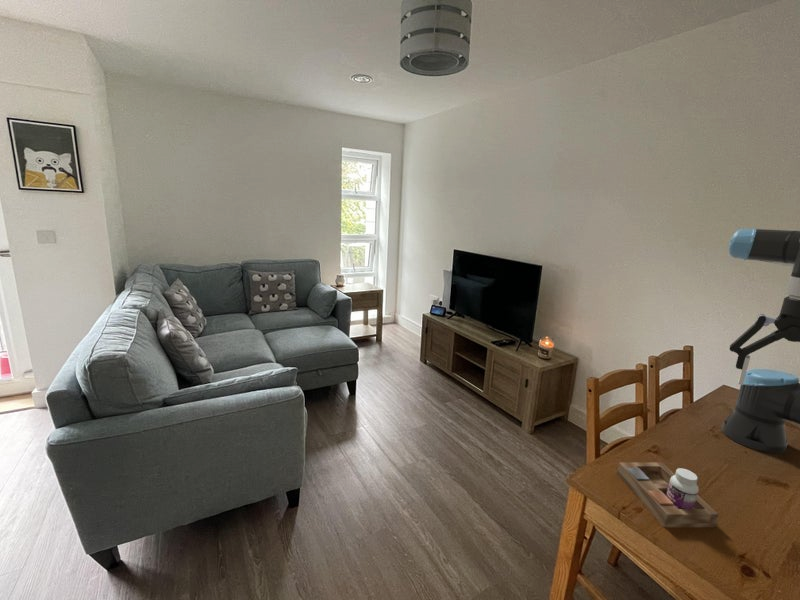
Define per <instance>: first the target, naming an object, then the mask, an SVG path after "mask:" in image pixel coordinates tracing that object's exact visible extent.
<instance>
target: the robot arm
mask: <svg viewBox="0 0 800 600" xmlns="http://www.w3.org/2000/svg"><path fill="white" fill-rule="evenodd" d="M728 251H729V255H730V257H732V258H734V259H740V260H744V261H745V260H746V261H757V262H758V261H759V262H765V263H770V264H776V265H781V266H786V267H788V268H789V269H790V270H791V271H792V272H791V274H790V276H789V281H788V284H787V288H786V290H785V294H786V295H787V296H785V297H784V298H783V301H782V304H781V307H780V308H781V309H780V311H779V315H778V316H777V317H776V318H775V317H770V316H767V315H765V314H764V313H760V314H758V316H757V319H756V320H755V322H754V323H753V324H752V325H751V326H749V328H748V329H747V330H746V331H744V332H743V333H742V334H741V335H740V336H739V337H738V338H737V339H735V340H734V341H733V342H732V343H731V344H730V345H729V351H730V352H734V353H735V354H736V355H738V356H737V359H736V363H735V367H736V368H735V369H738V370H740V374H739V378H738V380H737V381H738V382H737V383H738V385H740V387H739V390H738V391H739V392H738V395H737V398H736V402H735V406H734V409H733V410H732V411H731V413H729V415H728V416H727V417H726V419H725V420H724V421H723V423H722V425H721V431H722V433H723V434H724V435H725V436H726V437H728V438H729V439H731V440H732V441H734V442H736V443H738V444H740V445H742V446H745V447H747V448H750V449H753V450H756V451H758V452H759V451H760V452H763V453H768V454H770V453H771V454H783V453H784V452H786V451H787V447H788V441H787V436H786V435H787V433H786V427H785V426H786V422H787V421H789V422H790V423H794V424H797V425H799V426H800V379H799V377H798V376H797V375H795V374H793V373H789V372H786V371H781V370H776V369H768V368H753V369H748V367H749V363H750V360H751V355H750V354H752V353H755V352H756V351H758V350H761V349H762V348H765V347H767V346H768V345H770V344H773V343H775V342H778V341H780V340H782V339H785V340H787V341H788V342H793V343H796V342H797V343H800V230H788V229H787V230H786V229H785V230H784V229H768V228H767V229H764V228H740V229H738V230H736V231H735V233H734V232H733V235H732V236H731V239H730V242H729V245H728ZM770 324H774V326H775V327H776V329H777V330H775V331H774V330H773V332H771V333H770V334H768V335H766V336H764V337H761V338H760V339H758V340H755V341H754V342H752V343H750V344H748V345H746V346H744V347H742V346H743V345H745V344H746V342H748V341H749V340H751V338H752V337H753V336H755V335H756V334H757V333H758V332H759V331H760V330H761V329H762V328H763V327H767V326H770Z"/></svg>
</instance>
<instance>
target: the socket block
mask: <svg viewBox="0 0 800 600" xmlns="http://www.w3.org/2000/svg"><path fill="white" fill-rule="evenodd" d="M616 474H617V475H618V477H620V479H621V480H622V481H623V482H624V483H625V484H626V485H627V487H628V488H629V489H630V490H631V491H632V493H634V495H635V496H636V497H637V498H638V499H639V500H640V502H641V503H642V504H643V505H644V506H645V507H646V508H647V510H648V511H649V512H650V513H651V514H652V516H654V518H656V520H657V521H658V522H659V523H660V524H661V525H662V527H663V528H716V526H717V522H718V519H719V513H718V512H717V511H716V510H715V509H713V507H711V506H710V505H709V504H708V503H707V502H705V500H704V499H703V498H702V497H700V495H698V494H697V498H696V502H695V505H694V509H678V508H677V507H676V506H675V505H674V504H673V502H672V501H671V500H670V499H669V498H668V497H667V496H666V495H667V490H668V486H669V482H670V479H671V477H672V476H674V475H675V473H674V472H673V471H672V470H671V469H670V468H668V466H667V465H665V463H663V462H656V461H655V462H650V461H649V462H643V461H642V462H641V461H640V462H637V461H636V462H634V461H632V462H626V461H624V462H619V463H618V467H617V471H616Z"/></svg>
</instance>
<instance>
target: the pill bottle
mask: <svg viewBox="0 0 800 600" xmlns="http://www.w3.org/2000/svg"><path fill="white" fill-rule="evenodd" d="M674 474H675V475H674V476H672V477H671V479H670V482H669V486H668V490H667V495H666V496H667V497H668V498H669V499H670V500H671V501H672V502H673V504H674V505H675V506H676V507H677V508H678V509H694V505H695V502H696V498H697V495H698V494H699V491H700V490H699V486H698V484H697V483H698V476H697V474H696V473H694V472H692V471H691V470H689V469H686V468H680V467H678V468H677V469H676V470H675V473H674Z"/></svg>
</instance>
